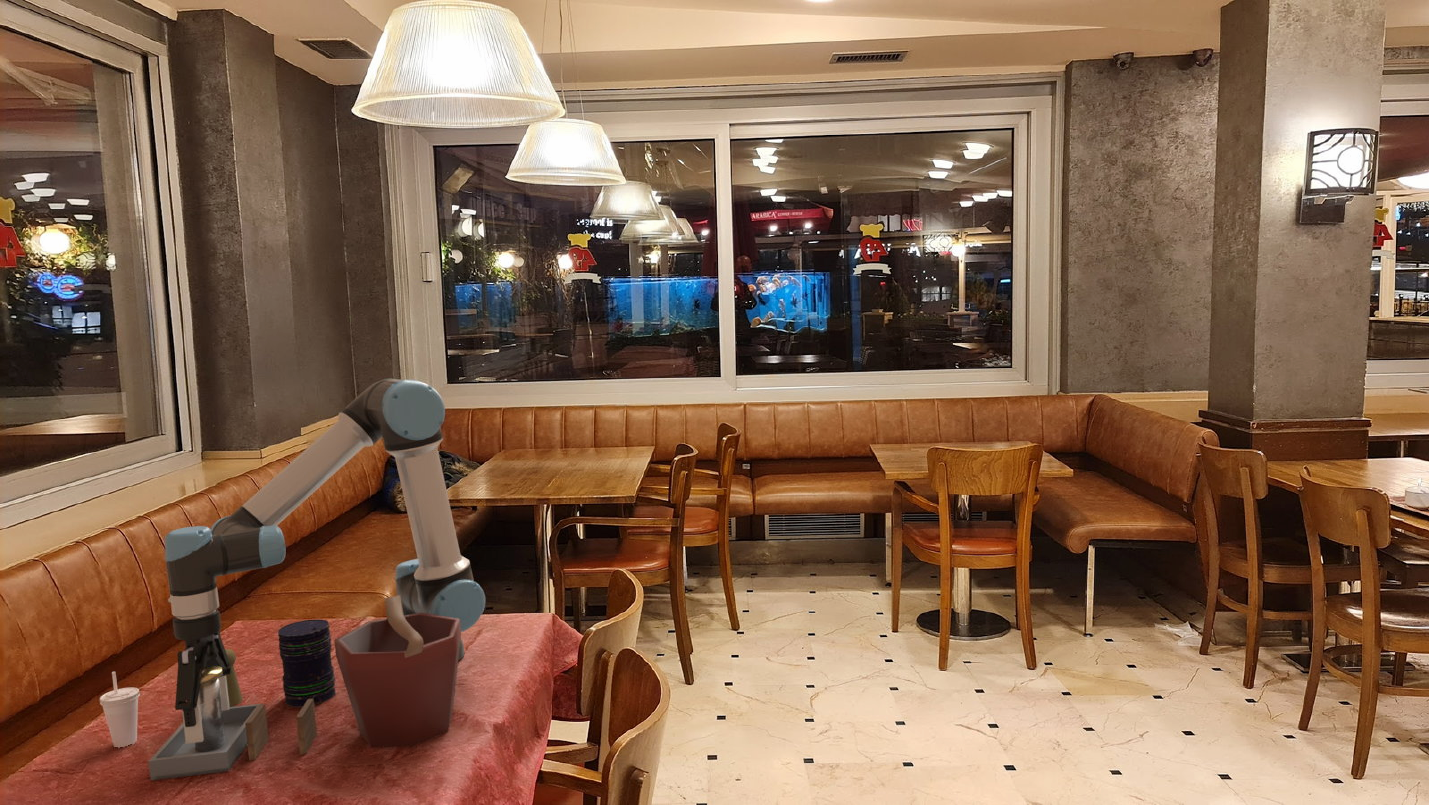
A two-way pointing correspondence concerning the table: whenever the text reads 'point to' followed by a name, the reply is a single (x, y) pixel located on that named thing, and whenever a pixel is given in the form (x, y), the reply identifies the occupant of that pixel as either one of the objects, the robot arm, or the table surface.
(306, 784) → the table surface
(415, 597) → the robot arm
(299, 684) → the storage jar
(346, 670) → the bucket
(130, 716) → the smoothie
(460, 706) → the table surface
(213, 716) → the silver metal cylinder
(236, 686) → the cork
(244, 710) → the tray
